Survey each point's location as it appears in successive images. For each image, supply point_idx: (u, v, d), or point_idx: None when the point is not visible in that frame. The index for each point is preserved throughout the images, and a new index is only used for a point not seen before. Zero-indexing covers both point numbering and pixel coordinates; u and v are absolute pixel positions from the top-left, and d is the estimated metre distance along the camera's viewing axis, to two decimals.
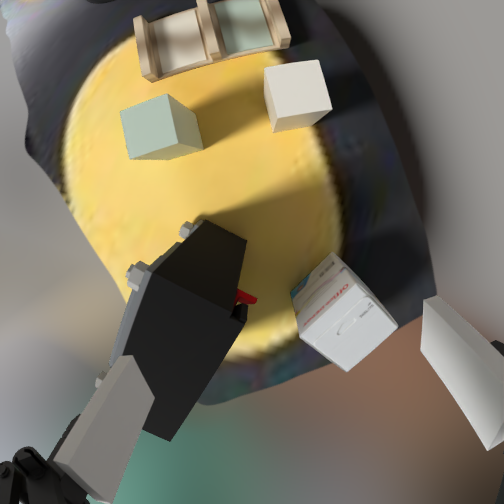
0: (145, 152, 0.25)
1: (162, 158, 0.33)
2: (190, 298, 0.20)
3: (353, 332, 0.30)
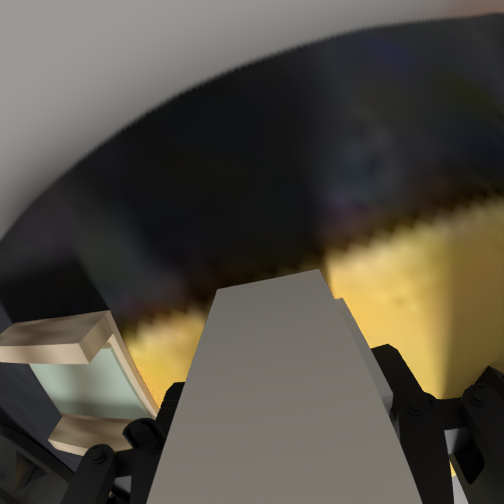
0: None
1: None
2: None
3: None
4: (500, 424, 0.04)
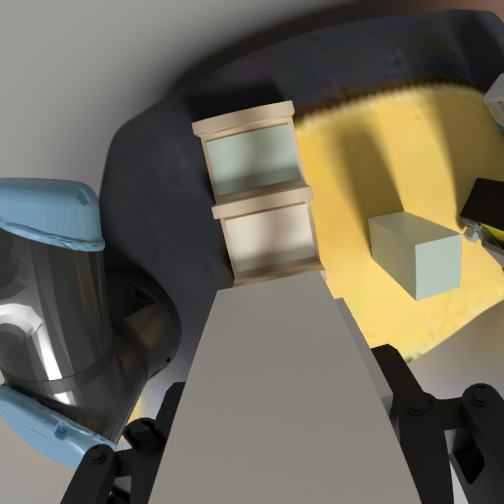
0: (460, 269, 0.21)
1: None
2: None
3: None
4: (500, 424, 0.04)
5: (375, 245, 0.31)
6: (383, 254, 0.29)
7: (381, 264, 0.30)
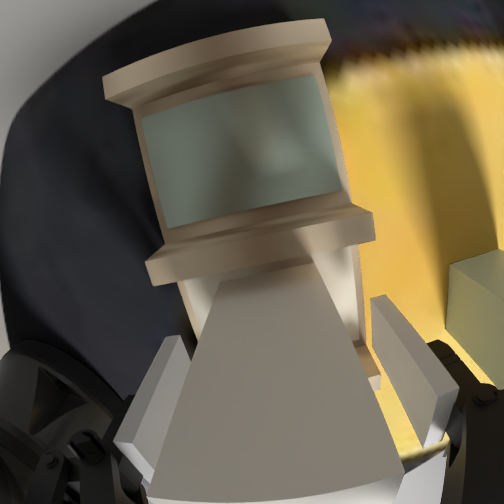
0: None
1: None
2: None
3: None
4: None
5: (461, 315, 0.15)
6: (480, 339, 0.12)
7: (468, 349, 0.14)
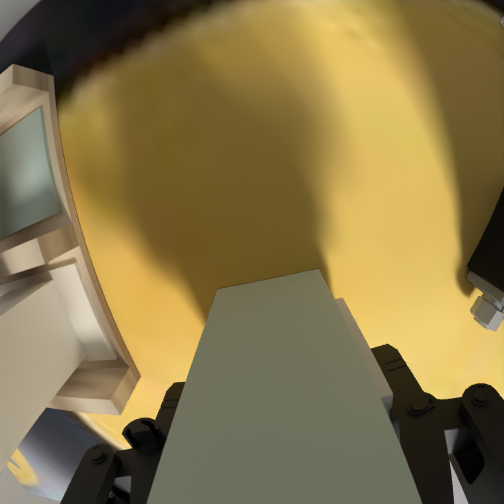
0: None
1: None
2: None
3: None
4: (500, 424, 0.04)
5: None
6: None
7: None
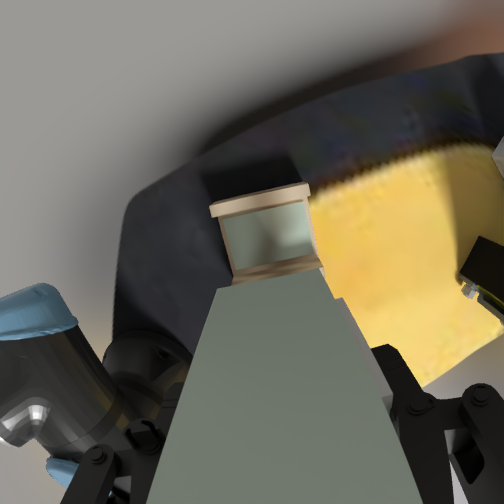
0: None
1: None
2: None
3: None
4: (500, 424, 0.04)
5: None
6: None
7: None
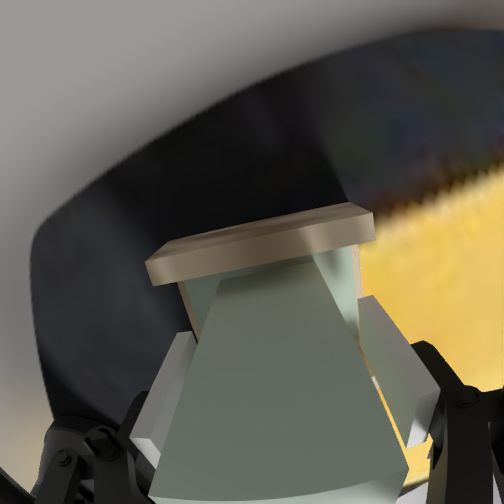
0: None
1: None
2: None
3: None
4: None
5: None
6: None
7: None
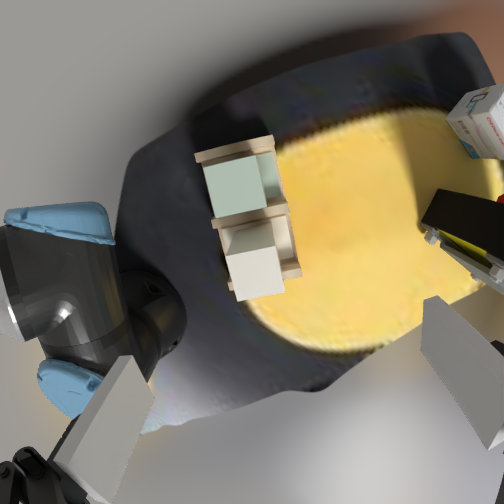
0: (261, 189, 0.27)
1: None
2: None
3: None
4: None
5: None
6: None
7: None
